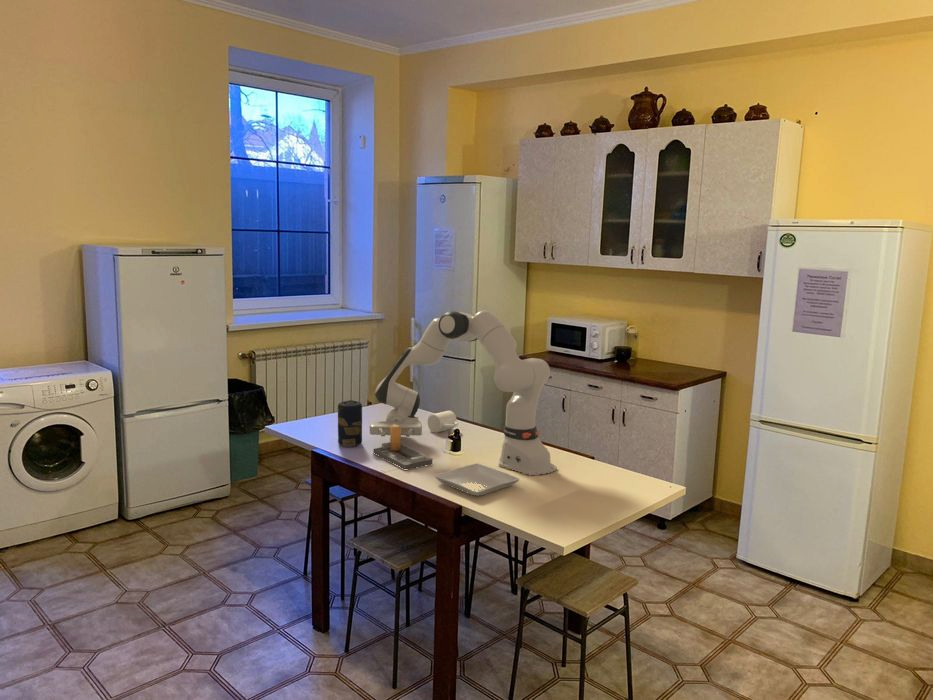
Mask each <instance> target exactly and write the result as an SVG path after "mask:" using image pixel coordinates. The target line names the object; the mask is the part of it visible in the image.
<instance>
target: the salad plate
mask: <svg viewBox="0 0 933 700" xmlns="http://www.w3.org/2000/svg"><path fill="white" fill-rule="evenodd" d="M434 477H435V479H436V480H437V481H439V482H440V483H443V484H444V485H447V486H449V485H450V486H449V487H451V486H453V487H452V488H454V487H455V488H454V489H456V488H458V489H460V490H459V491H461V490H463V491H465V492H464V493H466V492H468V493H470V494H469V495H471V494H472V496H475V495H476V497H478V496H479V495H480V496H483V495H482V494H484V495H486V494H485V493H487V494H490V493H493V492H495V490H496V491H498V489H499V490H502V489H504V487H505V488H507V487H511V486H513V485H515V484H517V483H518V482H519V481H520V478H519V477H517V476H515V475H511V474H508V473H506V472H504V471H502V470H497V469H495V468H493V467H489V466H486V465H485V464H484V465H483V464H480V463H473V464H469V465H466V466H463V467H459V468H455V469H451V470H447V471H444V472H441V473H437V474H435V475H434ZM467 482H468V483H471V482H472V483H473V484H474V483H475V482H476V483H477V484H481V485H482V486H483V487H484V488H485V489H481V490H479V489H478V492H476V491H475V489H474V491H472V490H471V489H468V488H466V487H464V486H462V485H461V484H463V483H465V484H466V483H467ZM460 483H461V484H460ZM476 483H475V484H476ZM484 485H485V486H484ZM486 486H487V487H486ZM479 487H480V486H479ZM480 488H481V487H480ZM501 488H502V489H501ZM458 489H457V490H458ZM463 491H462V492H463ZM492 491H493V492H492ZM489 492H490V493H489ZM468 493H467V494H468ZM480 496H479V497H480Z"/></svg>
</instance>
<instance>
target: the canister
mask: <svg viewBox="0 0 933 700" xmlns="http://www.w3.org/2000/svg"><path fill="white" fill-rule="evenodd" d="M337 437H338V439H337V442H338V444H339V445H340V446H342V445H343V446H342V447H347V446H352V447H357V446H360V445H361V444H362V442H363V405H362V403H361V402H360V401H357V400H352V399H350V400H344V401H341V402H339V403H338V404H337Z"/></svg>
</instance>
